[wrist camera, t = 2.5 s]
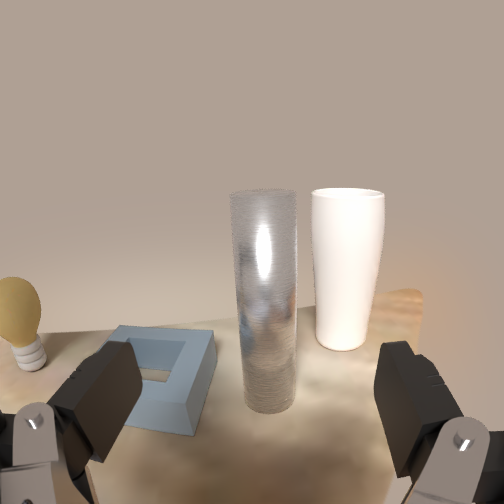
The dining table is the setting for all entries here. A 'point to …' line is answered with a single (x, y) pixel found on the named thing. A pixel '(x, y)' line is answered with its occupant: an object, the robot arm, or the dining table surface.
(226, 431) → the dining table surface
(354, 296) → the drinking glass
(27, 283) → the light bulb
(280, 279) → the steel pin
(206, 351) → the blue square frame
